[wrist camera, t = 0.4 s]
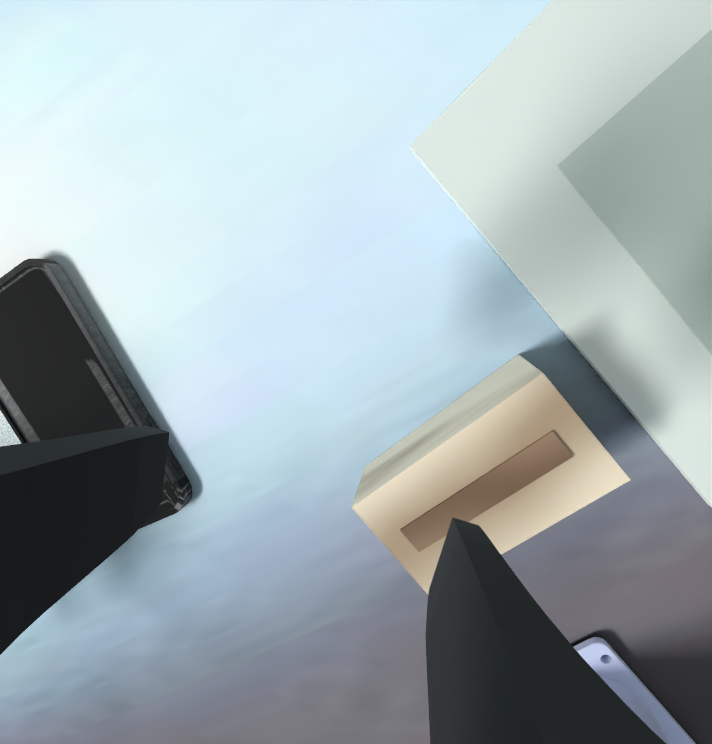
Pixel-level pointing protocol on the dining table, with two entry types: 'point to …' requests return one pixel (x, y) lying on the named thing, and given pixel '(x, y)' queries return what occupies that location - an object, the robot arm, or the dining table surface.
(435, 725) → the robot arm
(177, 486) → the phone
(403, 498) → the card box
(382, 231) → the dining table surface
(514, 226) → the mat
